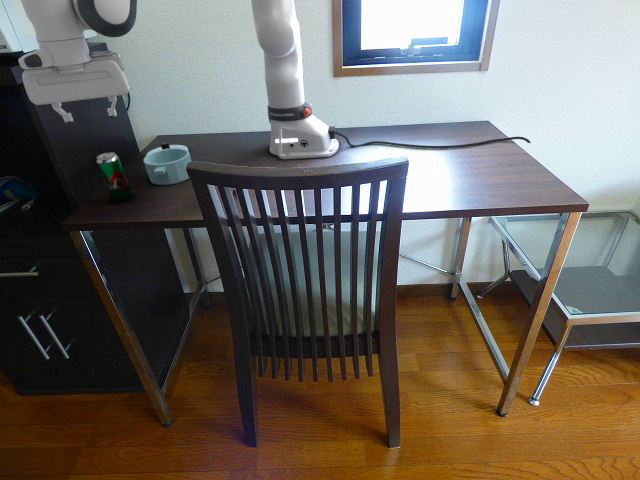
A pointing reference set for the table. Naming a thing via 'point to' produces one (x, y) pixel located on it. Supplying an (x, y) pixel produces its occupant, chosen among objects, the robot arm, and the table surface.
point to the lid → (166, 147)
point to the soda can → (114, 177)
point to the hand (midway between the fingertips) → (91, 119)
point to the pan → (167, 166)
